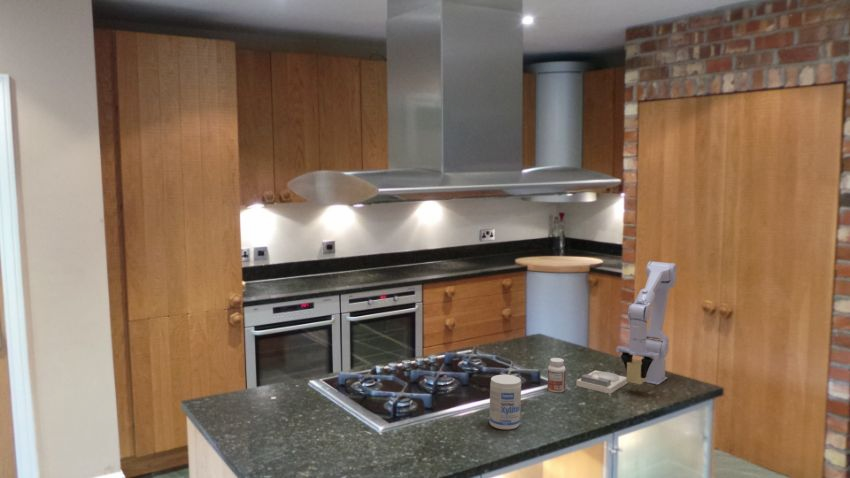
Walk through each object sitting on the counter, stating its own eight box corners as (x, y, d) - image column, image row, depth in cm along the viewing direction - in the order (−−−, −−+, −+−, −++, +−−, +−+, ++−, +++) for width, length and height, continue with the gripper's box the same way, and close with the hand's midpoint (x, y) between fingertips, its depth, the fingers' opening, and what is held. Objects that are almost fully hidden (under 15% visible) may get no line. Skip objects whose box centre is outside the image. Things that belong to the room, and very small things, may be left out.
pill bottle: (555, 385, 254) (556, 356, 252) (568, 390, 249) (569, 360, 248) (543, 389, 250) (544, 359, 248) (557, 394, 245) (558, 363, 244)
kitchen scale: (595, 375, 265) (595, 362, 265) (627, 382, 257) (628, 369, 256) (576, 385, 254) (576, 371, 253) (610, 393, 246) (610, 379, 245)
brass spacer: (632, 377, 249) (633, 358, 248) (645, 380, 246) (646, 361, 245) (626, 381, 246) (627, 362, 245) (640, 384, 242) (641, 364, 242)
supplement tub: (503, 433, 212) (504, 386, 210) (482, 423, 219) (483, 377, 217) (526, 425, 218) (527, 380, 216) (505, 416, 225) (506, 372, 223)
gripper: (613, 336, 245) (611, 374, 247) (654, 344, 236) (652, 383, 238) (621, 332, 251) (620, 369, 253) (661, 339, 242) (660, 377, 243)
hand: (636, 375), depth 246 cm, fingers closed on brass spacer, 5 cm apart
